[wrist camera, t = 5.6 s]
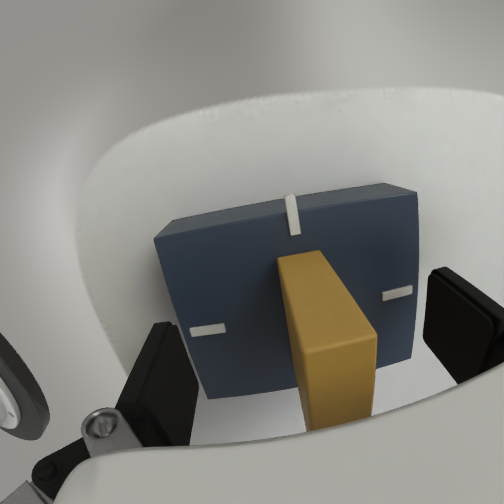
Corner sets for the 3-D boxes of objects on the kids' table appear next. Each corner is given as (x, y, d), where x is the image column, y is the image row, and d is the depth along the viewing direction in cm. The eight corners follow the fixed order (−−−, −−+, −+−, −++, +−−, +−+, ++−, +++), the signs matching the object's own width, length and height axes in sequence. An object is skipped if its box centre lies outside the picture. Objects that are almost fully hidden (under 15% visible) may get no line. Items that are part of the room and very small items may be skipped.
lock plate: (215, 370, 16) (210, 410, 13) (168, 207, 13) (146, 223, 10) (388, 335, 16) (411, 369, 13) (384, 170, 13) (418, 176, 10)
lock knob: (275, 256, 11) (303, 360, 5) (319, 248, 11) (383, 340, 5) (293, 365, 12) (315, 478, 7) (329, 357, 12) (367, 465, 7)
